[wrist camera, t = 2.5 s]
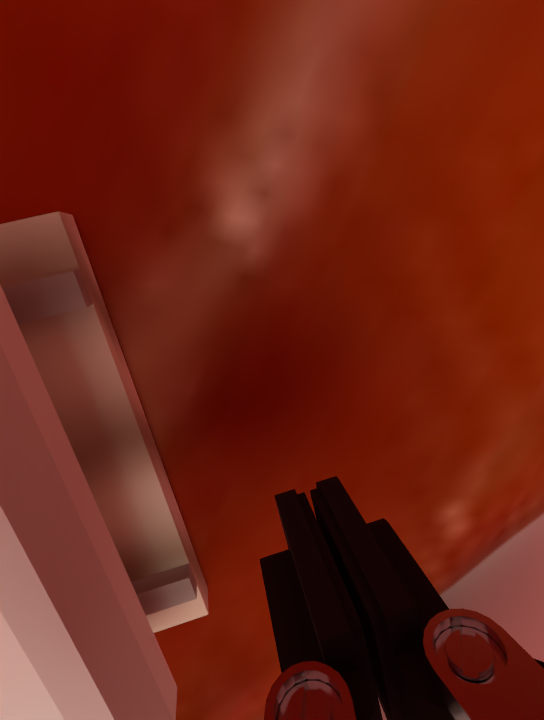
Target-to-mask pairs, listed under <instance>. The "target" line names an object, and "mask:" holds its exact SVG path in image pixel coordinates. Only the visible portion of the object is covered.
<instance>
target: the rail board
mask: <svg viewBox="0 0 544 720" xmlns="http://www.w3.org/2000/svg"><path fill="white" fill-rule="evenodd" d="M0 285H1V287H2V289H3V292H4V294H5V296H6V298H7V301H8V303H9V305H10V308H11V310H12V312H13V314H14V317H15V319H16V321H17V324H18V326H19V328H20V330H21V333H22V335H23V337H24V339H25V342H26V344H27V346H28V349H29V351H30V353H31V355H32V358H33V360H34V362H35V365H36V367H37V369H38V371H39V374H40V376H41V378H42V380H43V383H44V385H45V387H46V390H47V392H48V394H49V396H50V399H51V401H52V403H53V406H54V408H55V410H56V412H57V415H58V417H59V419H60V421H61V424H62V426H63V428H64V431H65V433H66V435H67V437H68V440H69V442H70V444H71V447H72V449H73V451H74V453H75V456H76V458H77V460H78V462H79V465H80V467H81V469H82V472H83V474H84V476H85V478H86V481H87V483H88V485H89V488H90V490H91V492H92V494H93V497H94V499H95V501H96V503H97V506H98V508H99V510H100V513H101V515H102V517H103V519H104V522H105V524H106V526H107V529H108V531H109V533H110V535H111V538H112V540H113V542H114V544H115V547H116V549H117V551H118V554H119V556H120V558H121V560H122V563H123V565H124V567H125V570H126V572H127V574H128V576H129V579H130V581H131V583H132V585H133V588H134V590H135V592H136V595H137V597H138V599H139V601H140V604H141V606H142V608H143V611H144V613H145V615H146V617H147V620H148V622H149V624H150V626H151V629H152V631H153V633H155V632H158V631H161V630H164V629H167V628H170V627H173V626H176V625H179V624H181V623H184V622H187V621H190V620H193V619H196V618H199V617H202V616H205V615H208V588H207V585H206V582H205V580H204V577H203V574H202V571H201V569H200V566H199V563H198V560H197V558H196V555H195V552H194V549H193V546H192V544H191V541H190V538H189V535H188V533H187V530H186V527H185V524H184V522H183V519H182V516H181V513H180V511H179V508H178V505H177V502H176V500H175V497H174V494H173V491H172V488H171V486H170V483H169V480H168V477H167V475H166V472H165V469H164V466H163V464H162V461H161V458H160V455H159V453H158V450H157V447H156V444H155V441H154V439H153V436H152V433H151V430H150V428H149V425H148V422H147V419H146V417H145V414H144V411H143V408H142V406H141V403H140V400H139V397H138V395H137V392H136V389H135V386H134V383H133V381H132V378H131V375H130V372H129V370H128V367H127V364H126V361H125V359H124V356H123V353H122V350H121V348H120V345H119V342H118V339H117V336H116V334H115V331H114V328H113V325H112V323H111V320H110V317H109V314H108V312H107V309H106V306H105V303H104V301H103V298H102V295H101V292H100V290H99V287H98V284H97V281H96V278H95V276H94V273H93V270H92V267H91V265H90V262H89V259H88V256H87V254H86V251H85V248H84V245H83V243H82V240H81V237H80V234H79V231H78V229H77V226H76V223H75V220H74V218H73V215H71V214H67V213H63V212H59V211H58V212H53V213H49V214H44V215H40V216H35V217H30V218H26V219H21V220H17V221H12V222H8V223H3V224H0Z"/></svg>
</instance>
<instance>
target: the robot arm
mask: <svg viewBox="0 0 544 720" xmlns="http://www.w3.org/2000/svg"><path fill="white" fill-rule="evenodd" d="M316 486H317V488H316V489H313V490H310V493H311V498H312V502H313V506H314V510H315V515H316V518H315V515H314V513H313V511H312V509H311V506H310V504H309V502H308V499H307V497H306V495H305V493H300V494H297V493H296V491H295V489H293V490H290V491H287V492H284V493H281V494H277V495H275V499H276V503H277V507H278V511H279V515H280V518H281V522H282V526H283V529H284V533H285V537H286V541H287V544H288V548H289V549H288V550H285V551H282V552H279V553H276V554H273V555H270V556H267V557H264V558H261V559H260V564H261V569H262V574H263V580H264V585H265V590H266V595H267V600H268V605H269V610H270V616H271V621H272V626H273V631H274V636H275V641H276V647H277V652H278V657H279V662H280V667H281V672H282V673H281V674H280V676H279V677H278V678H277V680H276V681H275V682H274V684H273V685H272V687H271V689H270V692H269V694H268V697H267V699H266V705H265V714H264V720H383V719H382V714H381V710H380V705H379V701H380V703H381V706H382V708H383V710H384V713H385V716H386V718H387V720H544V662H542V661H539V660H536V659H533V658H532V657H531V656H530V655H529V654H528V653H527V652H526V651H525V650H524V649H523V648H522V647H521V646H520V645H519V644H518V643H517V642H516V641H515V640H514V639H513V638H512V637H511V636H510V635H509V634H508V633H507V632H506V631H505V630H504V629H503V628H502V627H501V626H499V625H498V624H497V623H495V622H494V621H493V620H492V619H490V618H489V617H486V616H484V615H482V614H480V613H478V612H476V611H471V610H466V609H449V608H448V607H447V605H446V604H445V603H444V601H443V600H442V598H441V597H440V595H439V594H438V593H437V591H436V590H435V588H434V587H433V585H432V584H431V583H430V581H429V580H428V578H427V577H426V575H425V574H424V573H423V571H422V570H421V568H420V567H419V566H418V564H417V563H416V561H415V560H414V558H413V557H412V556H411V554H410V553H409V551H408V550H407V548H406V547H405V546H404V544H403V543H402V541H401V540H400V538H399V537H398V536H397V534H396V533H395V531H394V530H393V528H392V527H391V526H390V524H389V523H388V522H387V521H386V520H385V519H380V520H377V521H374V522H371V523H368V524H366V523H365V521H364V519H363V518H362V516H361V514H360V513H359V511H358V510H357V508H356V506H355V505H354V503H353V501H352V500H351V498H350V497H349V495H348V493H347V492H346V490H345V489H344V487H343V485H342V484H341V482H340V480H339V479H338V477H336V476H335V477H332V478H329V479H326V480H322V481H319V482H316ZM316 519H317V520H316ZM378 698H379V700H378Z"/></svg>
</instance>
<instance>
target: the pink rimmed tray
mask: <svg viewBox="0 0 544 720" xmlns="http://www.w3.org/2000/svg"><path fill="white" fill-rule="evenodd" d="M176 698H177V686H176V683H175V681H174V679H173V677H172V674H171V672H170V670H169V668H168V665H167V663H166V661H165V658H164V656H163V654H162V652H161V649H160V647H159V645H158V642H157V640H156V638H155V636H154V633H153V631H152V629H151V626H150V624H149V622H148V620H147V617H146V615H145V613H144V611H143V608H142V606H141V604H140V601H139V599H138V597H137V595H136V592H135V590H134V588H133V585H132V583H131V581H130V579H129V576H128V574H127V572H126V570H125V567H124V565H123V563H122V560H121V558H120V556H119V554H118V551H117V549H116V547H115V544H114V542H113V540H112V538H111V535H110V533H109V531H108V529H107V526H106V524H105V522H104V519H103V517H102V515H101V513H100V510H99V508H98V506H97V503H96V501H95V499H94V497H93V494H92V492H91V490H90V488H89V485H88V483H87V481H86V478H85V476H84V474H83V472H82V469H81V467H80V465H79V462H78V460H77V458H76V456H75V453H74V451H73V449H72V447H71V444H70V442H69V440H68V437H67V435H66V433H65V431H64V428H63V426H62V424H61V421H60V419H59V417H58V415H57V412H56V410H55V408H54V406H53V403H52V401H51V399H50V396H49V394H48V392H47V390H46V387H45V385H44V383H43V380H42V378H41V376H40V374H39V371H38V369H37V367H36V365H35V362H34V360H33V358H32V355H31V353H30V351H29V349H28V346H27V344H26V342H25V339H24V337H23V335H22V333H21V330H20V328H19V326H18V324H17V321H16V319H15V317H14V314H13V312H12V310H11V308H10V305H9V303H8V301H7V298H6V296H5V294H4V292H3V289H2V287H1V285H0V720H175V719H176Z"/></svg>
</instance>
